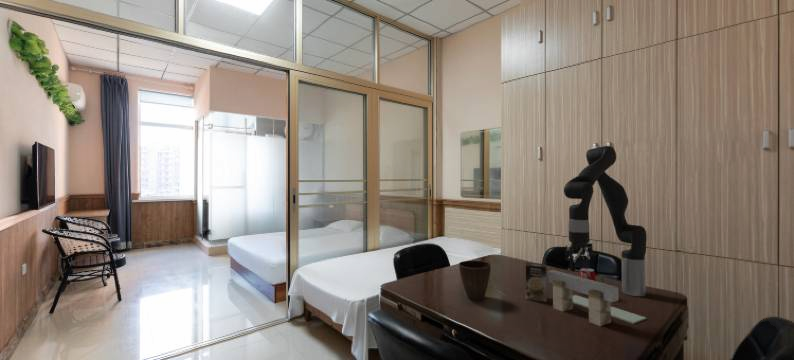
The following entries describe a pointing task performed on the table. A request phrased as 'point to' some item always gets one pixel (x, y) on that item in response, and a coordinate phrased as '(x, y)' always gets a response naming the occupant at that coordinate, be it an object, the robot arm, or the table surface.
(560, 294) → the post
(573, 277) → the rail
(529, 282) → the coffee box
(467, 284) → the plant pot
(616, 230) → the robot arm
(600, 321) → the post
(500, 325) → the table surface
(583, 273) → the soda can
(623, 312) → the felt mat
